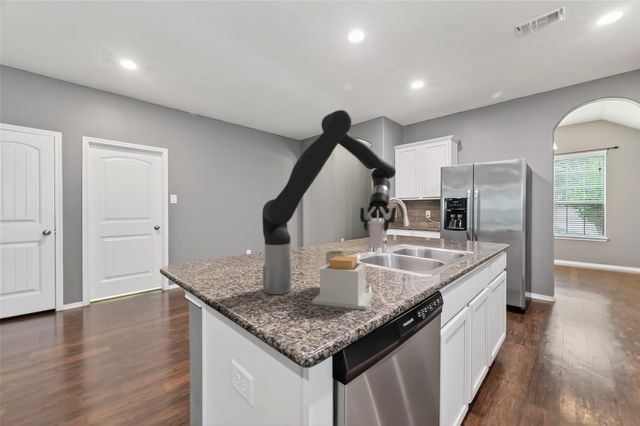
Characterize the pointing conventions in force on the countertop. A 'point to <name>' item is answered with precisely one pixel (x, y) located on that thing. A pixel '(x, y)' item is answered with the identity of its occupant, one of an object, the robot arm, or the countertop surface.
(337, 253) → the character mug
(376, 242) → the smoothie
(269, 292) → the robot arm
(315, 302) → the white open box
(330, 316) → the countertop surface
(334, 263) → the orange block
